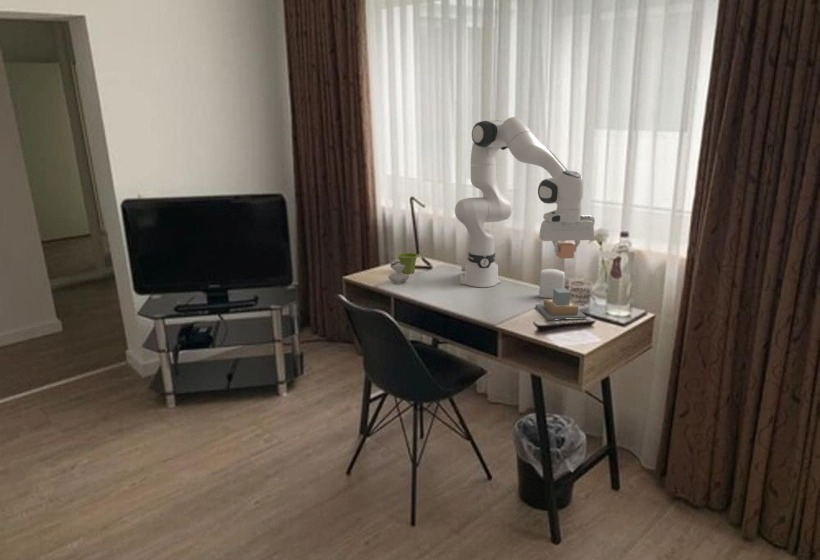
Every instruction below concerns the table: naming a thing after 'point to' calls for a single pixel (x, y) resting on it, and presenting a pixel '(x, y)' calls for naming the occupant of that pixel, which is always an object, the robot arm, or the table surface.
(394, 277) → the stamp
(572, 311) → the build plate
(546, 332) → the table surface
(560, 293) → the grey cube
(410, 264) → the plant pot
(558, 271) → the photo printer
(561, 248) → the terracotta cube
